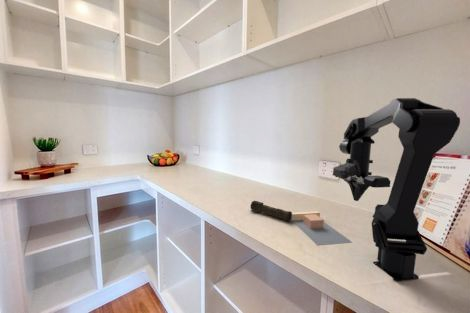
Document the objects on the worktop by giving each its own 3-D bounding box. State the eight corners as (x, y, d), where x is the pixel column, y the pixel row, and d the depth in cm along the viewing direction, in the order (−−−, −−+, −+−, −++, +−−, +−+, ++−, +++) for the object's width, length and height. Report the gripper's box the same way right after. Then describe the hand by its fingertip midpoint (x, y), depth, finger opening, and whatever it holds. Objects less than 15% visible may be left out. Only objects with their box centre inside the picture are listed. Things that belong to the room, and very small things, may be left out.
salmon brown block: (323, 227, 69) (323, 219, 68) (310, 228, 68) (310, 220, 68) (315, 221, 74) (315, 214, 73) (303, 222, 73) (303, 214, 72)
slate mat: (352, 243, 60) (353, 234, 59) (317, 246, 58) (317, 237, 57) (317, 218, 78) (317, 211, 77) (289, 220, 76) (290, 212, 75)
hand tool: (292, 220, 75) (293, 208, 75) (287, 223, 72) (288, 211, 72) (254, 208, 88) (254, 198, 88) (249, 210, 85) (249, 200, 85)
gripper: (321, 153, 73) (319, 193, 75) (361, 160, 55) (357, 212, 57) (347, 153, 75) (344, 192, 77) (394, 159, 57) (389, 210, 58)
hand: (356, 200), depth 67 cm, fingers closed
